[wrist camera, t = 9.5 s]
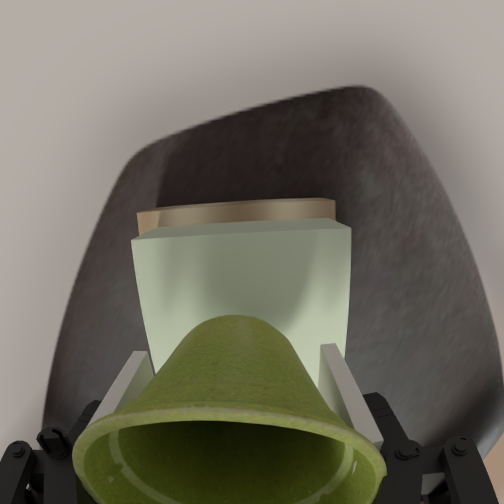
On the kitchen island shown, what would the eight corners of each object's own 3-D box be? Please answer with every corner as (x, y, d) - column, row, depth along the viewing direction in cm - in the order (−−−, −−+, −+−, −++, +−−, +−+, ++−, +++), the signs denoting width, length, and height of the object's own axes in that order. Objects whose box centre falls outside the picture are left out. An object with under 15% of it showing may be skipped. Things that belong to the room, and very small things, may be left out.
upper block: (179, 371, 23) (165, 409, 18) (157, 227, 20) (130, 240, 16) (323, 364, 23) (338, 402, 18) (328, 217, 20) (351, 227, 16)
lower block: (177, 349, 28) (165, 378, 23) (157, 207, 25) (136, 212, 20) (318, 343, 28) (329, 371, 23) (319, 197, 25) (335, 200, 20)
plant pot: (127, 286, 14) (17, 392, 5) (326, 266, 13) (422, 379, 5) (170, 427, 16) (138, 543, 7) (325, 416, 15) (360, 538, 7)
